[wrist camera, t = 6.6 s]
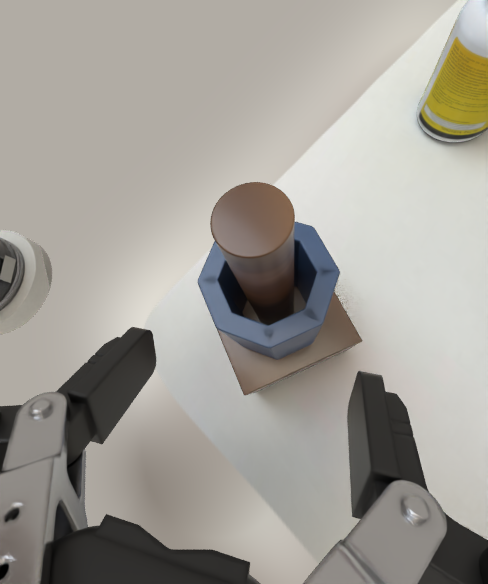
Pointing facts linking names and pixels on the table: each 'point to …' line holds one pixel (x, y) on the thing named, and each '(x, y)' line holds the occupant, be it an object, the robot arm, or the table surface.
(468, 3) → the pill bottle
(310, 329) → the blue hollow octagonal tube
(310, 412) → the table surface
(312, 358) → the stand
